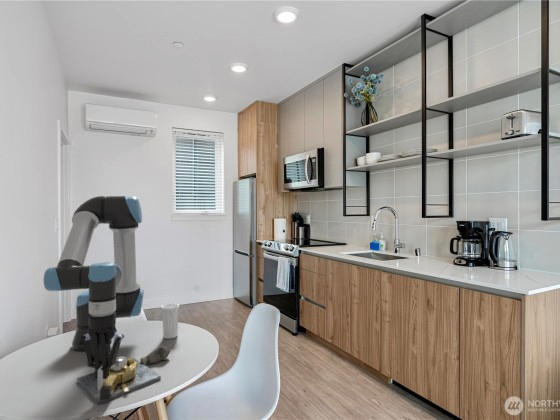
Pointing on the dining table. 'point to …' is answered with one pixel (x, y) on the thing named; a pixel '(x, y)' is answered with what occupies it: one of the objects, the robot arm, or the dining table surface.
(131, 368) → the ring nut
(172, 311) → the cup
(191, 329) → the dining table surface
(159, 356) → the stone
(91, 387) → the base plate
